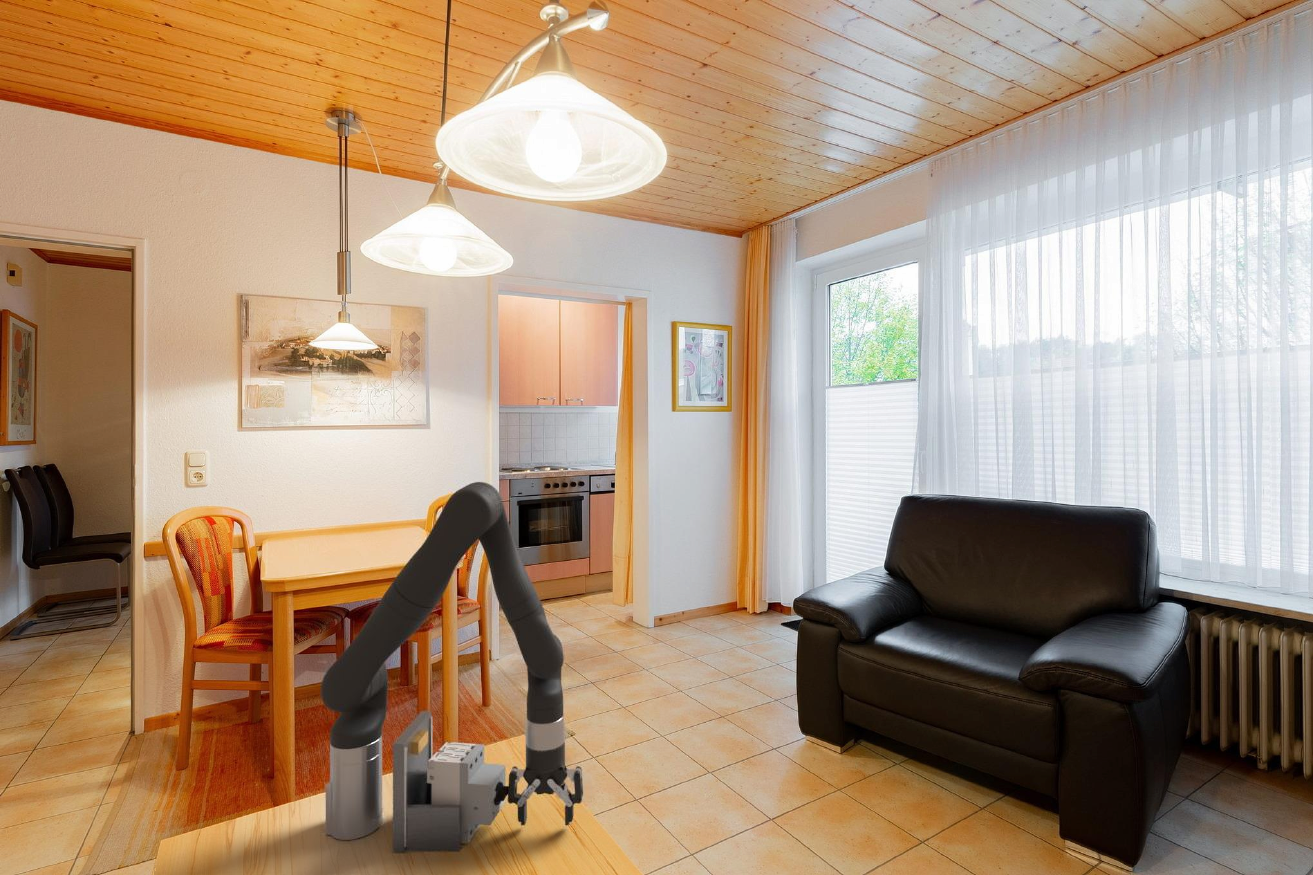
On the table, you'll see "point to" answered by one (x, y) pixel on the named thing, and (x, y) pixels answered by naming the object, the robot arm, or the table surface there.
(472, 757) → the circuit breaker
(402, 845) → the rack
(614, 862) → the table surface
